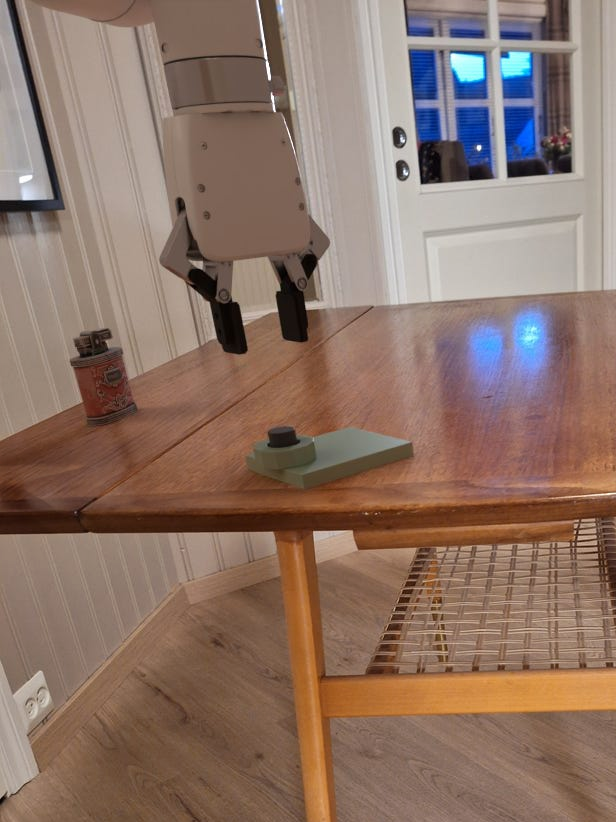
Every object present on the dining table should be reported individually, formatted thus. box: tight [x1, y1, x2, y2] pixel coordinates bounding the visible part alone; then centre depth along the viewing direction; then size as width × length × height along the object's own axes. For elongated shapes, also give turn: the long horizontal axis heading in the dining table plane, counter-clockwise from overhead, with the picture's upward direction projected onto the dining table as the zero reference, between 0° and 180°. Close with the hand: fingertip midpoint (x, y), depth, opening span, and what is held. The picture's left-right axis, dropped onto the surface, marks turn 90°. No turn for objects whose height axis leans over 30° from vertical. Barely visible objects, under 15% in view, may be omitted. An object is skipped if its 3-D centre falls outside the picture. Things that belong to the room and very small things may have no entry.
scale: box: [244, 426, 414, 490], centre depth 80 cm, size 13×10×3 cm
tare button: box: [267, 425, 298, 448], centre depth 77 cm, size 2×2×2 cm
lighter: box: [68, 327, 138, 427], centre depth 103 cm, size 8×3×10 cm, turn 167°
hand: (266, 344), depth 73 cm, fingers open, 5 cm apart
